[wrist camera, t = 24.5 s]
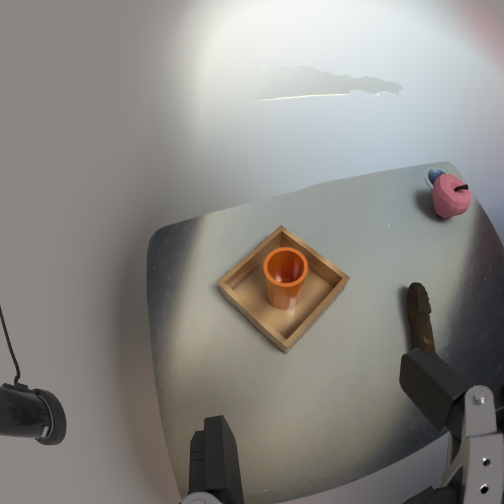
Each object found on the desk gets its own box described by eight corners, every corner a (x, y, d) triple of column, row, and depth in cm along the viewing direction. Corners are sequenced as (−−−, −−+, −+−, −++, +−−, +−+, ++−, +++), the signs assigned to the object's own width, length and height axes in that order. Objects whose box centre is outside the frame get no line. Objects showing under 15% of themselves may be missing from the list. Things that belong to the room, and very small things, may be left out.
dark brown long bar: (432, 395, 31) (448, 392, 27) (412, 399, 32) (427, 398, 28) (420, 287, 41) (432, 275, 37) (401, 288, 41) (412, 276, 37)
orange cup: (258, 293, 43) (254, 267, 35) (283, 270, 44) (284, 239, 36) (285, 317, 40) (287, 295, 32) (309, 291, 42) (316, 265, 34)
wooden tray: (222, 295, 44) (216, 282, 39) (281, 242, 48) (281, 224, 43) (285, 354, 38) (286, 348, 34) (342, 291, 42) (350, 277, 38)
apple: (446, 195, 50) (463, 165, 42) (463, 225, 46) (484, 196, 37) (417, 198, 51) (433, 165, 42) (434, 230, 46) (455, 199, 38)
